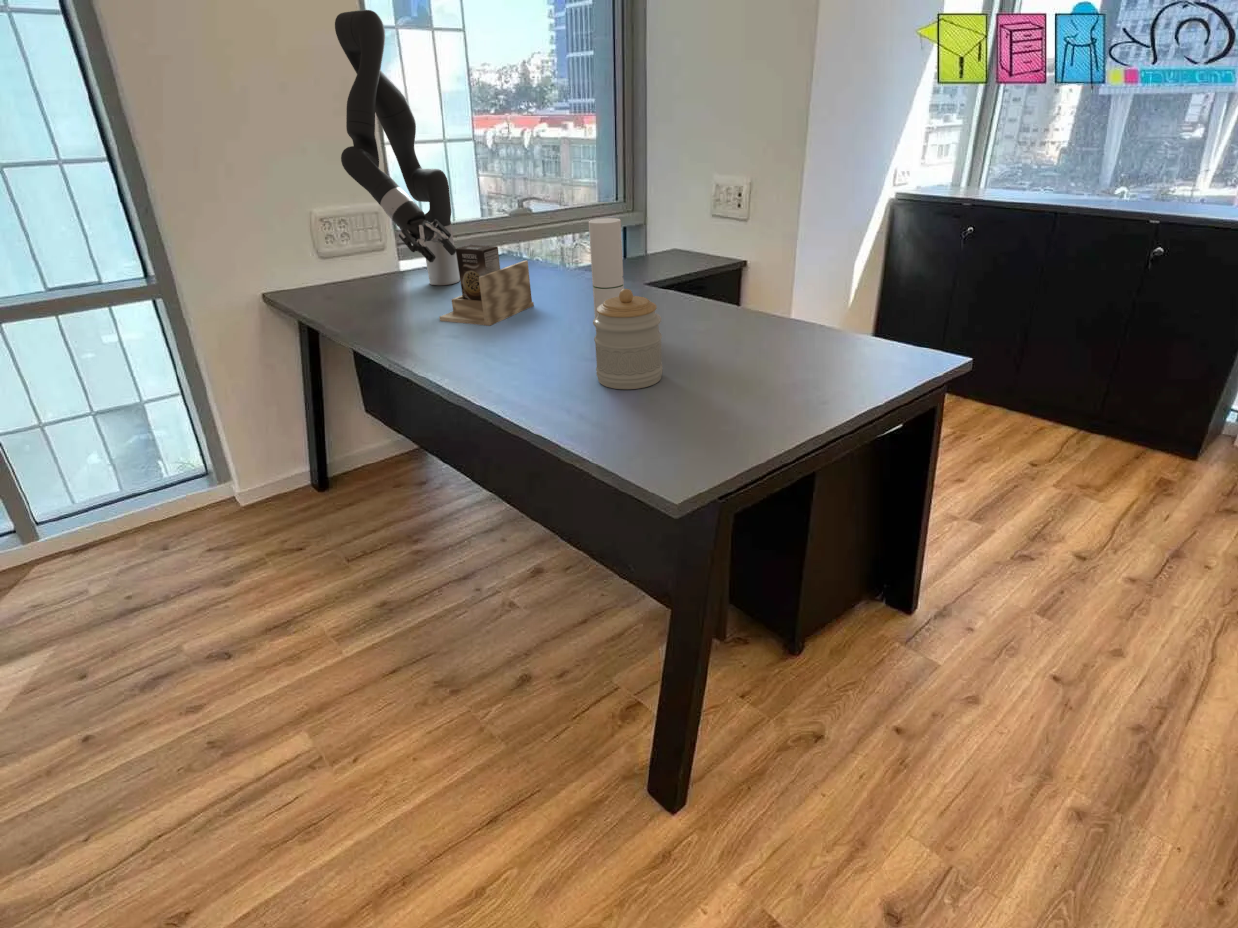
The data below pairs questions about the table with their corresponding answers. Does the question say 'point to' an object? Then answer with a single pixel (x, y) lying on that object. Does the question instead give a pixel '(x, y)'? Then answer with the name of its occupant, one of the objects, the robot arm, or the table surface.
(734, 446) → the table surface
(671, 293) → the table surface
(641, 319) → the jar
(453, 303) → the holder
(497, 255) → the coffee box
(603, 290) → the cylindrical container
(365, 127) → the robot arm
